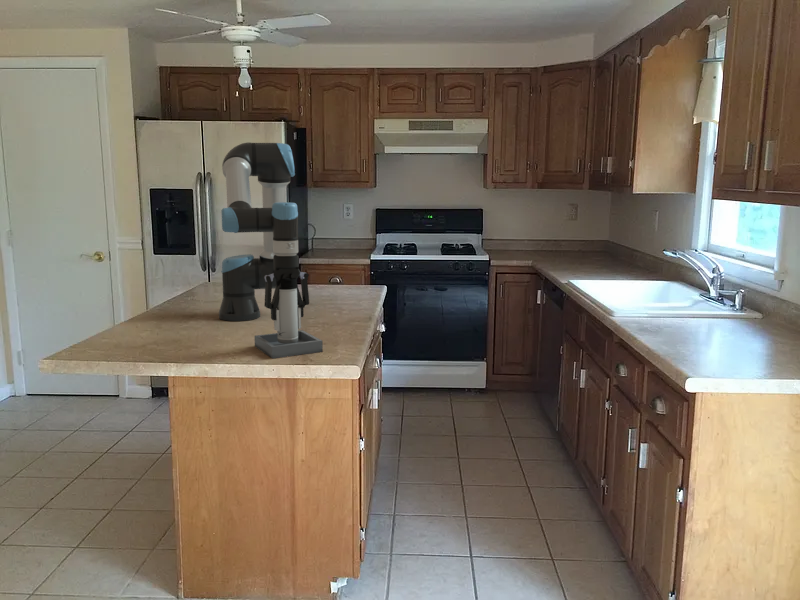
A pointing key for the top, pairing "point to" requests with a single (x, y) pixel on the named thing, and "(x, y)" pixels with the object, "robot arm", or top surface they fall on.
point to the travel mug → (288, 311)
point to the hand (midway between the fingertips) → (287, 328)
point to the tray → (288, 345)
